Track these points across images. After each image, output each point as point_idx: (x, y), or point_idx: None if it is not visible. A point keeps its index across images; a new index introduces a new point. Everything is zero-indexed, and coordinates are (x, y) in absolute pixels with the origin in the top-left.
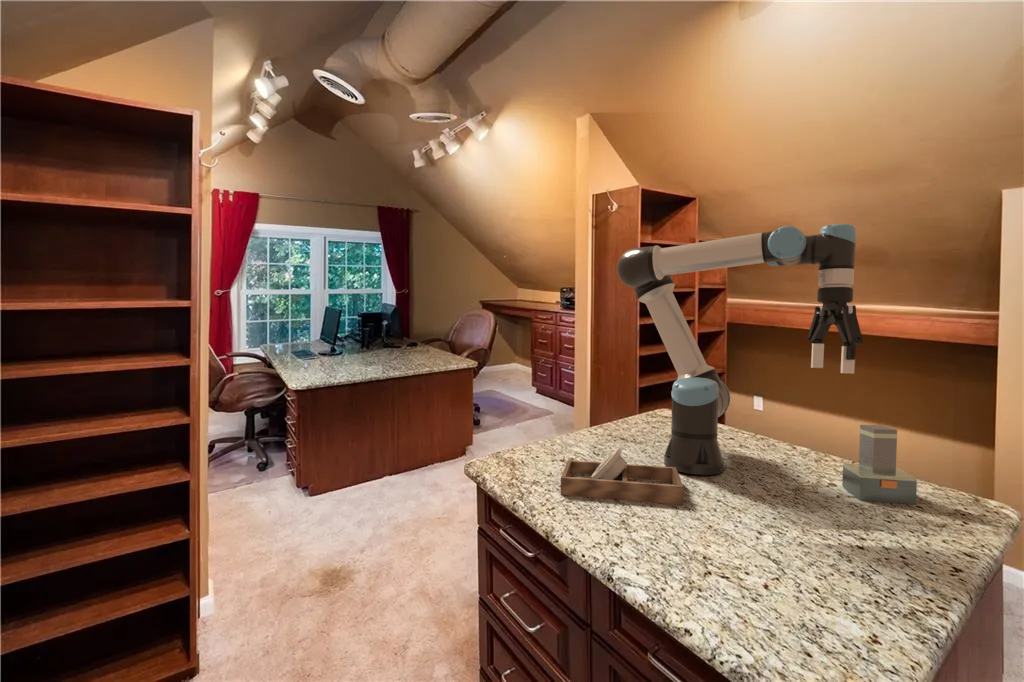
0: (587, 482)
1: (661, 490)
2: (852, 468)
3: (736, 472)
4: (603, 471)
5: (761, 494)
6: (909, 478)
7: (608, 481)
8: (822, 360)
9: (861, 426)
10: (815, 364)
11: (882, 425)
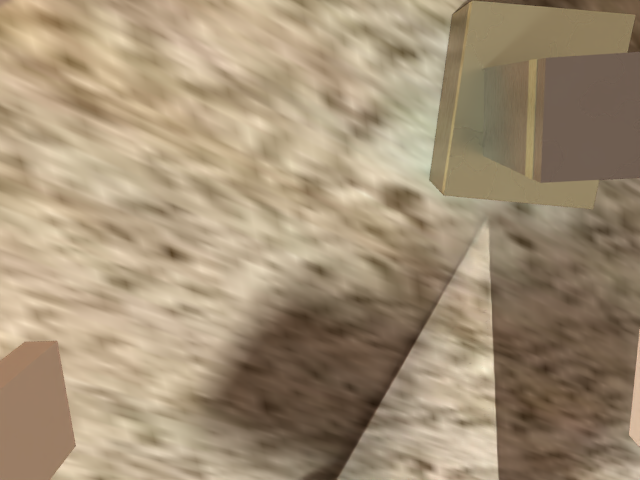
0: None
1: None
2: (519, 200)
3: (308, 445)
4: None
5: (518, 447)
6: (628, 42)
7: None
8: (8, 397)
9: (549, 180)
10: (52, 441)
11: (555, 62)
